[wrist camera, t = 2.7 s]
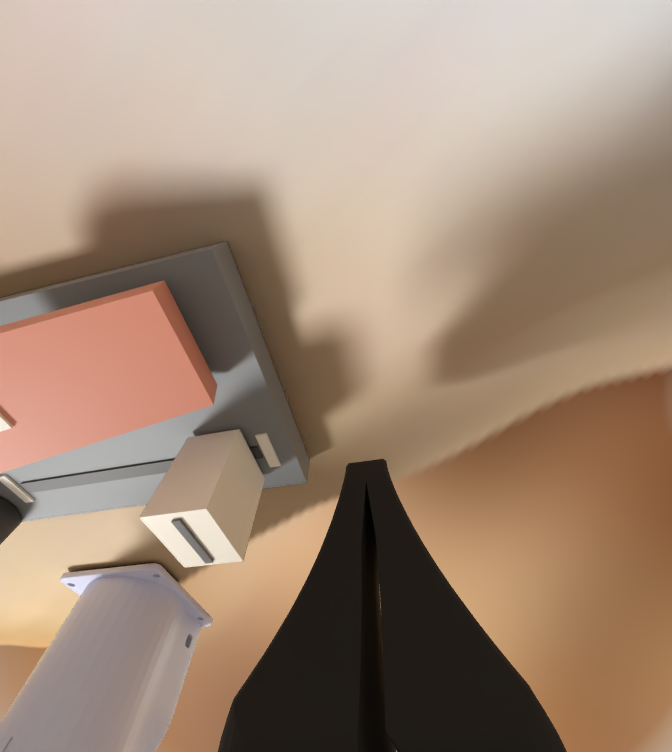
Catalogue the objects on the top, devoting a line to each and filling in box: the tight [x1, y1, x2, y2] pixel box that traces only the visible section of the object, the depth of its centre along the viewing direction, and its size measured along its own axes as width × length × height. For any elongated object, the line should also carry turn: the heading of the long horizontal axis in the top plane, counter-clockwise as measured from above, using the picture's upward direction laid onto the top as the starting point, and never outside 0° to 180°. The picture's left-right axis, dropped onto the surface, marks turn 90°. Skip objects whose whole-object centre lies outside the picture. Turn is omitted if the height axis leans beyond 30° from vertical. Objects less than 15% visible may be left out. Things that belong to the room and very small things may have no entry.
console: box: [0, 241, 310, 522], centre depth 14 cm, size 11×20×2 cm, turn 103°
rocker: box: [0, 280, 217, 473], centre depth 10 cm, size 4×7×2 cm, turn 103°
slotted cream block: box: [139, 429, 265, 568], centre depth 13 cm, size 3×2×4 cm
